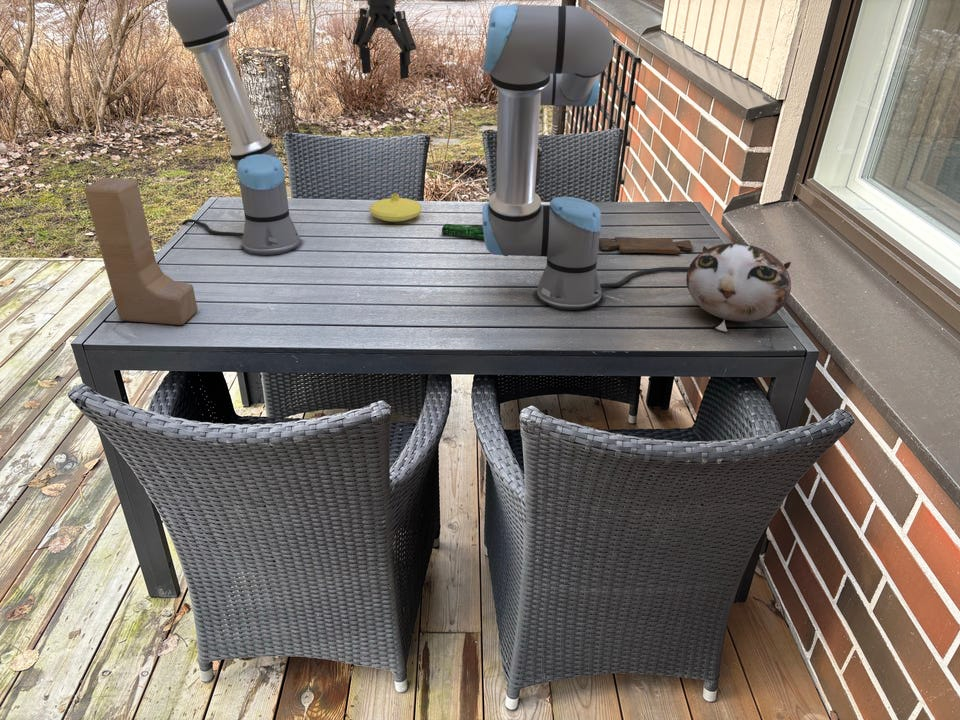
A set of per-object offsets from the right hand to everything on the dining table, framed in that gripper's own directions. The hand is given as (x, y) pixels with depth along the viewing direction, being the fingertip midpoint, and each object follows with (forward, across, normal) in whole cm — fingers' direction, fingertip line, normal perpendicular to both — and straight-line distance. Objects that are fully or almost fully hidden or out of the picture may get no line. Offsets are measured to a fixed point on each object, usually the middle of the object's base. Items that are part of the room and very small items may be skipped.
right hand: (516, 206), depth 198 cm
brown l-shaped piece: (+9, +42, +86) cm, 96 cm away
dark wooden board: (+10, -33, -15) cm, 38 cm away
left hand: (-31, +40, +5) cm, 51 cm away
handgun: (+10, +12, +2) cm, 16 cm away
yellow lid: (+10, +39, +5) cm, 40 cm away
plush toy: (+9, -65, +14) cm, 67 cm away
